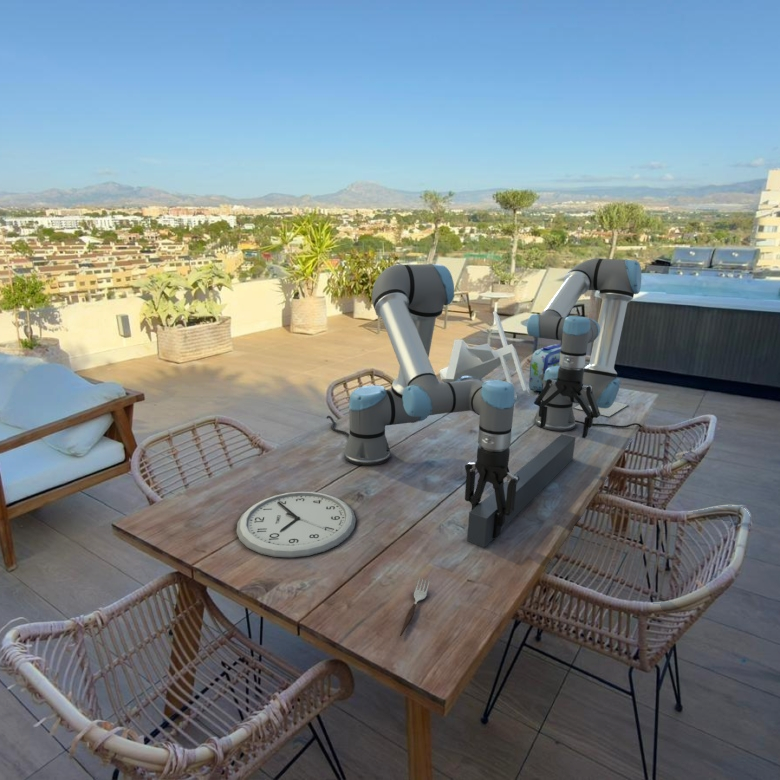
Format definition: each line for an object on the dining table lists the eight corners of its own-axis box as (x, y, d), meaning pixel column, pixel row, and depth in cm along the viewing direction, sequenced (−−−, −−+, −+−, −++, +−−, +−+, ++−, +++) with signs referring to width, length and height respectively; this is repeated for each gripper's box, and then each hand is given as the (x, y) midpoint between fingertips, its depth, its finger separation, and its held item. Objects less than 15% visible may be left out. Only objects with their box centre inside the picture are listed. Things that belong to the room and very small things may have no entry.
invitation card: (608, 416, 214) (573, 407, 224) (608, 416, 214) (573, 408, 224) (628, 404, 229) (594, 396, 238) (628, 405, 229) (594, 397, 238)
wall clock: (357, 549, 121) (224, 553, 118) (357, 555, 121) (224, 559, 118) (354, 487, 149) (247, 489, 147) (354, 492, 150) (247, 495, 147)
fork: (393, 636, 97) (393, 627, 97) (418, 584, 112) (419, 576, 111) (406, 640, 96) (407, 631, 96) (430, 587, 111) (430, 579, 110)
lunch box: (545, 397, 238) (550, 352, 231) (524, 391, 245) (529, 348, 239) (572, 386, 255) (578, 344, 249) (552, 381, 262) (557, 340, 256)
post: (558, 455, 177) (561, 433, 174) (572, 459, 174) (575, 437, 172) (467, 540, 128) (469, 512, 125) (484, 547, 125) (486, 518, 123)
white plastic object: (461, 429, 252) (437, 405, 227) (444, 352, 274) (420, 323, 250) (535, 404, 240) (518, 377, 215) (510, 326, 262) (492, 293, 237)
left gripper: (453, 441, 126) (448, 526, 133) (522, 461, 116) (513, 551, 123) (468, 432, 132) (462, 514, 139) (535, 450, 121) (526, 537, 128)
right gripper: (528, 362, 165) (521, 425, 172) (610, 376, 151) (599, 444, 157) (537, 358, 171) (530, 419, 177) (617, 371, 157) (606, 437, 163)
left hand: (486, 531), depth 131 cm, fingers closed on post, 5 cm apart
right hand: (563, 431), depth 167 cm, fingers open, 13 cm apart
